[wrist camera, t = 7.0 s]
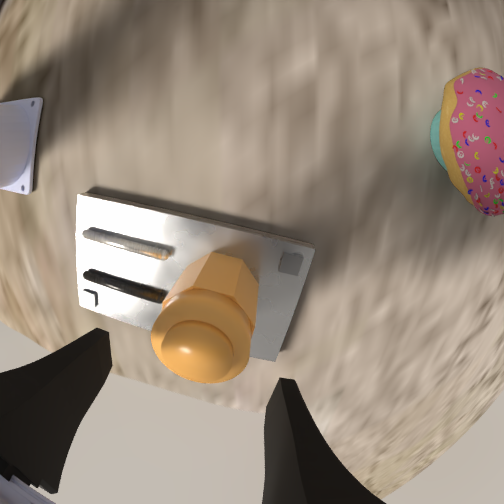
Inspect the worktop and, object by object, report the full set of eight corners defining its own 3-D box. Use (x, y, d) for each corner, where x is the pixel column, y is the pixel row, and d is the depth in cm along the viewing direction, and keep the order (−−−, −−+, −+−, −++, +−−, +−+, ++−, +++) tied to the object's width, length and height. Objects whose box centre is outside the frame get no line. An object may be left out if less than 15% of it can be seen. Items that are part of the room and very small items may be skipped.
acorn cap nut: (180, 308, 18) (146, 375, 12) (190, 246, 17) (148, 300, 10) (246, 325, 18) (236, 400, 12) (264, 265, 17) (261, 330, 11)
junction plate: (86, 299, 20) (60, 324, 16) (85, 192, 17) (49, 203, 13) (275, 353, 20) (275, 391, 16) (313, 244, 17) (324, 269, 13)
